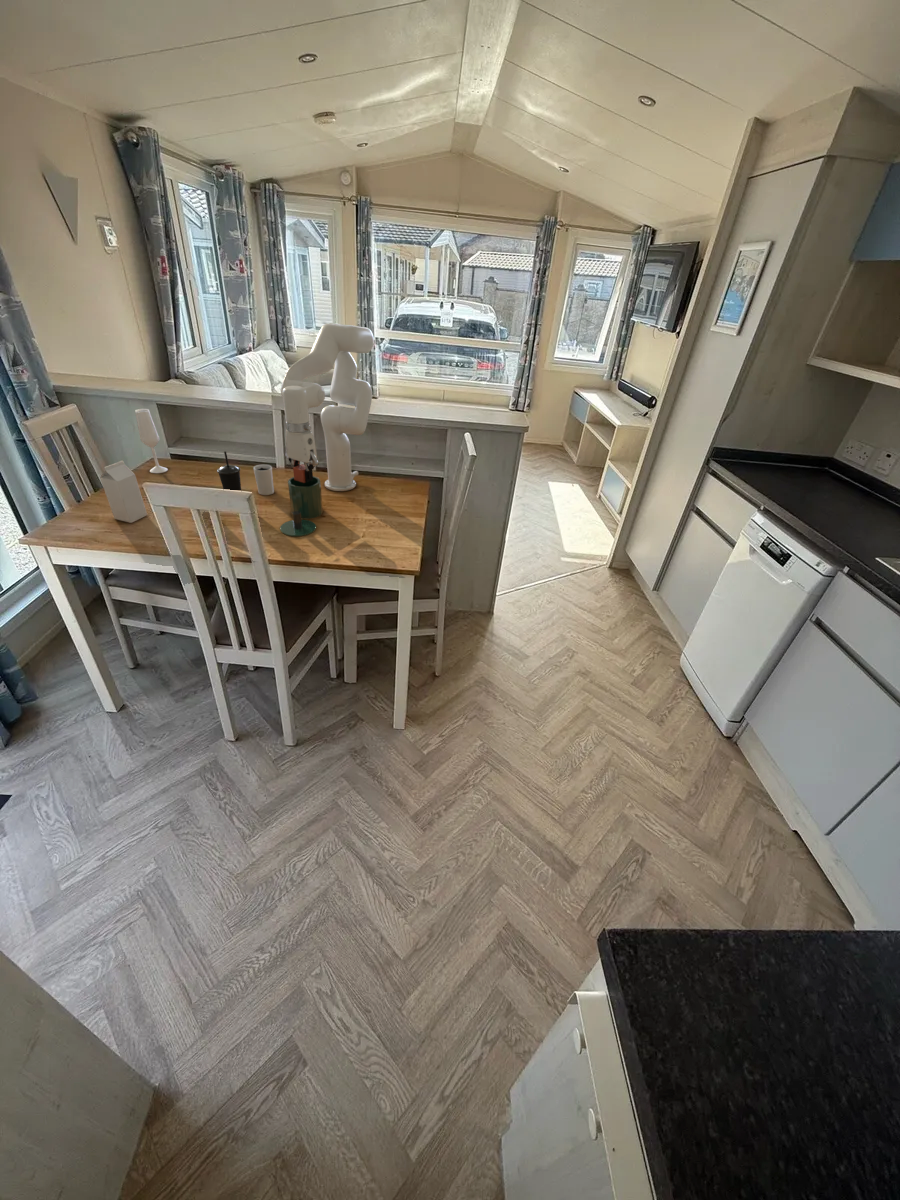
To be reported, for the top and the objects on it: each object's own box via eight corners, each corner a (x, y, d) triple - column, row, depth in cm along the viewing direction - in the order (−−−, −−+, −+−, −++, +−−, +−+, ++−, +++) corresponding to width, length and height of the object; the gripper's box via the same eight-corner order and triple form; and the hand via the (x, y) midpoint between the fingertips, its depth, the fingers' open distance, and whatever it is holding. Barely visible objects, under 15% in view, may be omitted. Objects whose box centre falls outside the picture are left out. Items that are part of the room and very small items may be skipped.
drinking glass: (253, 493, 196) (249, 468, 190) (265, 487, 201) (261, 463, 195) (267, 496, 194) (263, 471, 188) (278, 490, 199) (275, 466, 193)
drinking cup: (239, 510, 183) (229, 456, 171) (220, 507, 184) (208, 453, 172) (250, 502, 189) (241, 449, 178) (231, 499, 190) (221, 447, 179)
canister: (306, 504, 191) (303, 472, 183) (329, 512, 186) (326, 480, 179) (285, 514, 183) (280, 481, 175) (308, 522, 178) (304, 489, 171)
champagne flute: (170, 467, 211) (154, 408, 198) (163, 473, 206) (147, 413, 192) (153, 466, 211) (137, 407, 197) (146, 472, 205) (129, 412, 192)
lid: (298, 519, 180) (295, 502, 177) (323, 528, 176) (322, 511, 172) (272, 531, 172) (270, 513, 168) (299, 541, 167) (296, 523, 163)
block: (303, 476, 179) (302, 463, 177) (313, 479, 178) (311, 466, 175) (294, 479, 176) (292, 467, 174) (304, 483, 174) (302, 470, 172)
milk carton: (147, 515, 175) (131, 462, 164) (131, 523, 170) (112, 469, 159) (131, 511, 177) (114, 458, 166) (114, 519, 171) (95, 465, 160)
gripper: (325, 429, 166) (329, 481, 176) (287, 419, 172) (293, 470, 183) (309, 434, 161) (314, 488, 171) (271, 423, 167) (278, 476, 177)
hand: (303, 478), depth 177 cm, fingers closed on block, 4 cm apart
